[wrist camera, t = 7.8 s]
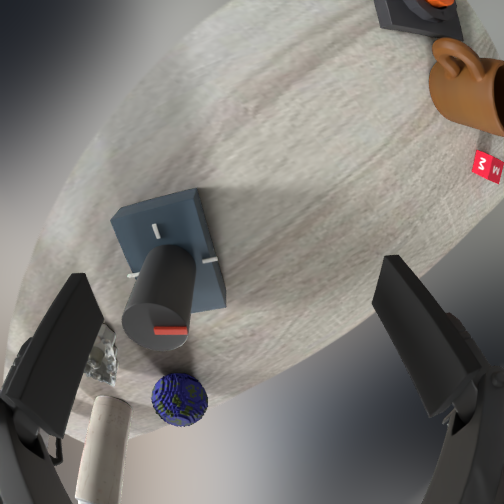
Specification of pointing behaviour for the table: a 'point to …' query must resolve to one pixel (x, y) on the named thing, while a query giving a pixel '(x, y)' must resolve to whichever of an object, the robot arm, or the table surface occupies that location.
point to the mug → (467, 86)
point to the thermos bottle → (104, 452)
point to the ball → (179, 399)
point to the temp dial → (161, 299)
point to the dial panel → (173, 240)
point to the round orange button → (440, 2)
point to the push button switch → (419, 18)
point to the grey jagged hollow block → (103, 357)
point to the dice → (488, 166)
